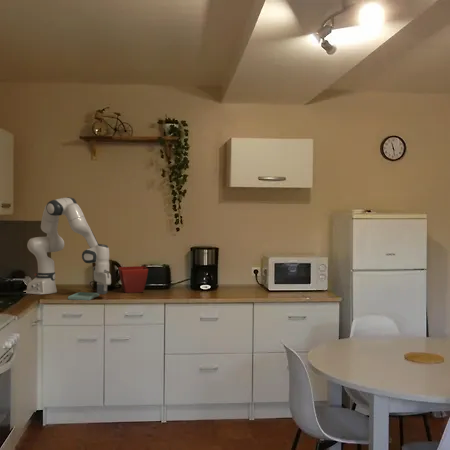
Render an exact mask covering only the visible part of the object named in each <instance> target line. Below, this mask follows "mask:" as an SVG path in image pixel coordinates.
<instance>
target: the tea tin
mask: <svg viewBox="0 0 450 450" xmlns="http://www.w3.org/2000/svg"><path fill="white" fill-rule="evenodd" d="M103 288H104V284H102V283H97V291H96V293H97V294H99V295H107V293H108V289H107V290H106V291H103Z"/></svg>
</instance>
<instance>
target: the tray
mask: <svg viewBox="0 0 450 450" xmlns="http://www.w3.org/2000/svg"><path fill="white" fill-rule="evenodd" d="M99 296H100V294H97V292H85V291H84V292H81V291H79V292H75V293H73V294H71V295H68V296H67V300H71V301H72V300H73V301H74V300H76V301H91V300H94V299H95V298H98V297H99Z"/></svg>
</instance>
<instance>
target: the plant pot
mask: <svg viewBox="0 0 450 450" xmlns="http://www.w3.org/2000/svg"><path fill="white" fill-rule="evenodd" d="M117 268H118V273H119V280H120V283H121V287H122V290H123V292H124V294H128V293H131V294H132V293H136V294H137V293H143V292H144V291H145V288H146V285H147V282H148V281H147V279H148V275H149V274H148V273H149V268H147V267H146V266H145V265H144V266H143V265H142V266H141V265H139V266H136V265H135V266H118V267H117Z"/></svg>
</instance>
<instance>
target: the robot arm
mask: <svg viewBox="0 0 450 450" xmlns="http://www.w3.org/2000/svg"><path fill="white" fill-rule="evenodd" d="M43 209H44V210H43V212H42V217H41V222H40V223H41V224H40V229H41V231H42V232H43V233H45V234H46V236H37V237H31V238H29V240H27V246H26V247H27V249H28V251H29V252H30V253H31V254H33V255H34V256H35V258H36V262H37V272H36V273H34V276H35V277H34V278H33V279H32V280H30V281H29V282H28V283H27V286H26V289H24V290H23V292H26V293H25V294H31V295H32V294H33V295H47V294H48V295H49V294H56V293H57V292H58V289H57V286H56V272H55V260H54V259H53V258H51V257H49V256H48V253H56V252H60V251H62V250H63V249H64V248H65V241H64V239H63V237H62V236H60V235H59V231H58V228H59V220H60V216H63V215H64V216H65V217H66V220H67V222H68V224H69V227H70V229H71V230H72V231H73V232H74V233H76V234H79V235H80V236H82V237H83V238H84V239H85V241H86V242H87V245H88V246H89V248H87V249H85V250H83V251H82V253H81V259H82V261H83V262H84V263H86V264H94V263H95V266H93V267H92V271H93V281H94V282H95V281H97V283H102V284H104V288H103V291H106V290H107V291H108V286H111V284H112V275H111V273H110V247H109V246H108V245H107V244H103V243H99V242H98V240H97V238H96V237H95V234H94V232H93V230H92V228H91V227H90V225H89V224H88V221H87V219H86V217H85V214H84V213H83V209H81V207H80V205H79V204H78V203H77V200H76V199H75V198H73V197H69V196H68V197H60V198H57V199H52V200H49V201H48V202H47V203H46V205H45V206H44V208H43Z"/></svg>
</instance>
